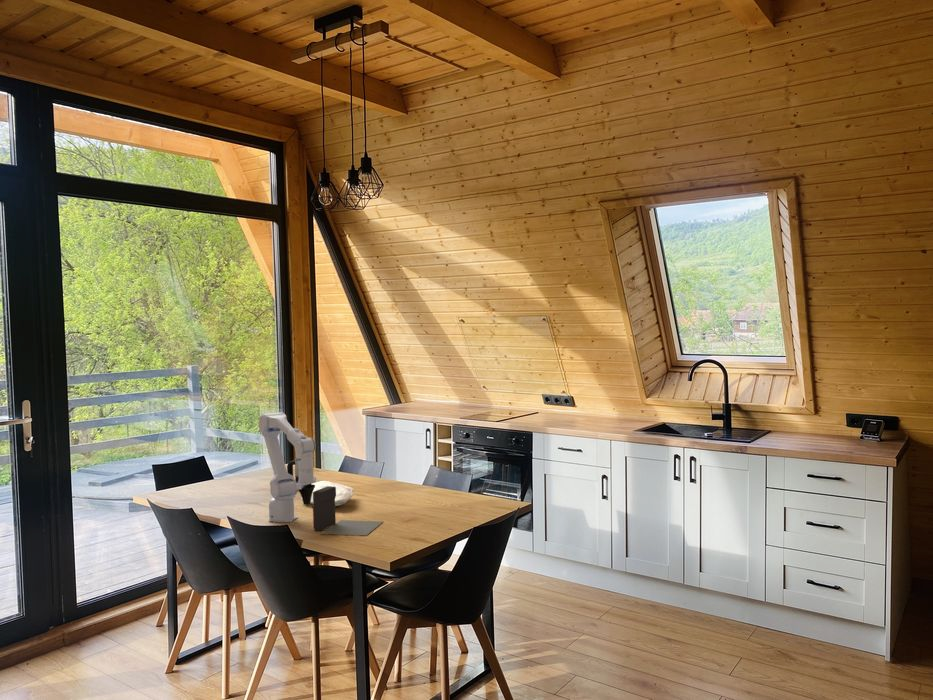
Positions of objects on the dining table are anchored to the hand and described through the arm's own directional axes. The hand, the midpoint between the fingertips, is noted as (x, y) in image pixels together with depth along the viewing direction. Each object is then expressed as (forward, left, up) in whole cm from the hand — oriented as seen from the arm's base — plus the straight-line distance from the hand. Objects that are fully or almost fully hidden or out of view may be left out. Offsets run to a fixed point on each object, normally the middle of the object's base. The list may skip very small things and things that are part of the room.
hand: (306, 504), depth 290 cm
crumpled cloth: (-6, +39, -9) cm, 41 cm away
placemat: (+19, 0, -9) cm, 21 cm away
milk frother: (-34, +65, -9) cm, 74 cm away
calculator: (+7, 0, -9) cm, 12 cm away
